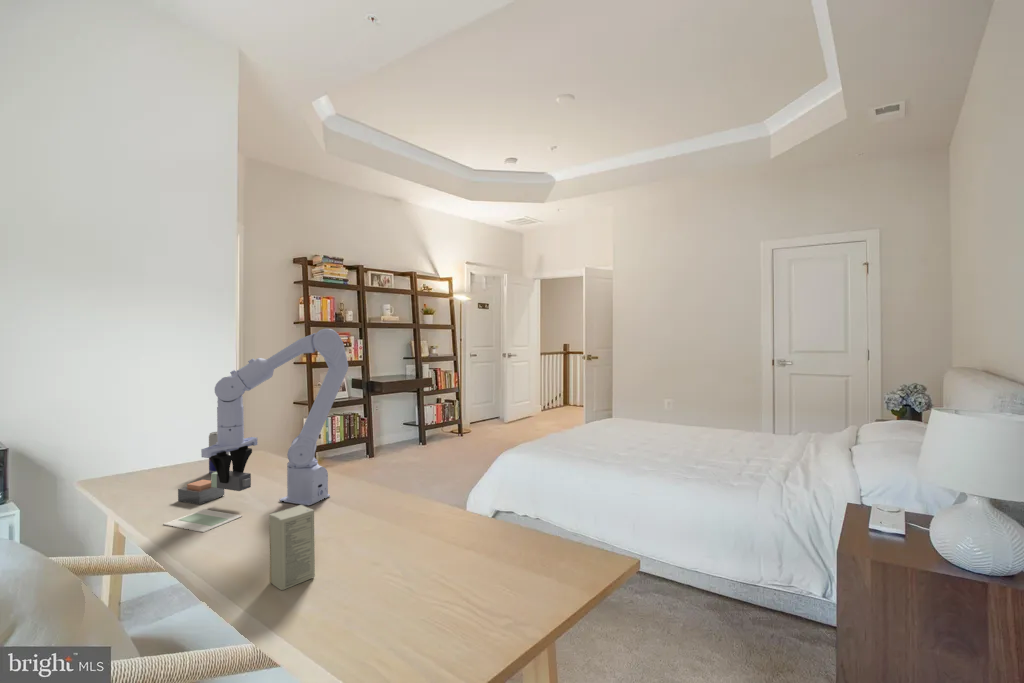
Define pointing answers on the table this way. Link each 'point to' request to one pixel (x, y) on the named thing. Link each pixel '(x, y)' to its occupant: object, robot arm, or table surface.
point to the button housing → (199, 495)
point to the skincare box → (291, 546)
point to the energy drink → (211, 442)
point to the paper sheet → (202, 520)
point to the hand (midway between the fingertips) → (231, 480)
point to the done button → (199, 485)
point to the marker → (232, 481)
